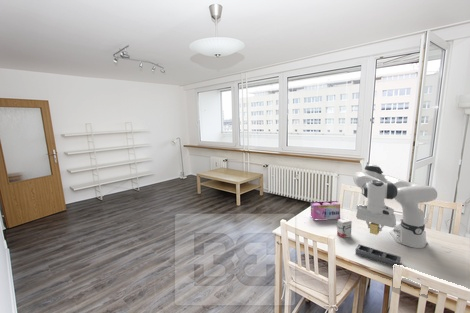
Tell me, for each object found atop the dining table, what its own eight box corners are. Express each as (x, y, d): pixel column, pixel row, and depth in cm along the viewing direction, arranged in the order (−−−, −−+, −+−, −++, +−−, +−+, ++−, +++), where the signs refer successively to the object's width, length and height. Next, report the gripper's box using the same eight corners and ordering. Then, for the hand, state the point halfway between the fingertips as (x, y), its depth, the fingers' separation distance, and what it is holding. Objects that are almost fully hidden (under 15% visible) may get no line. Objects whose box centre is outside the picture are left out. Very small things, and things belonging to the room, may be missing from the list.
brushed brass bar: (369, 232, 135) (370, 223, 134) (371, 230, 137) (372, 221, 136) (377, 235, 132) (377, 225, 131) (379, 232, 134) (379, 223, 134)
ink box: (341, 238, 158) (342, 222, 157) (336, 234, 163) (337, 219, 161) (351, 235, 161) (352, 220, 159) (346, 232, 165) (346, 217, 164)
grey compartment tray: (355, 254, 139) (355, 248, 139) (358, 249, 144) (358, 244, 144) (398, 268, 124) (398, 262, 123) (400, 262, 129) (400, 257, 128)
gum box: (337, 215, 195) (338, 200, 193) (341, 219, 187) (342, 204, 185) (310, 216, 196) (310, 202, 193) (313, 220, 188) (313, 205, 186)
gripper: (355, 205, 138) (354, 226, 140) (394, 213, 123) (393, 236, 125) (358, 202, 142) (357, 222, 144) (397, 210, 127) (396, 232, 129)
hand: (374, 229), depth 134 cm, fingers closed on brushed brass bar, 4 cm apart
